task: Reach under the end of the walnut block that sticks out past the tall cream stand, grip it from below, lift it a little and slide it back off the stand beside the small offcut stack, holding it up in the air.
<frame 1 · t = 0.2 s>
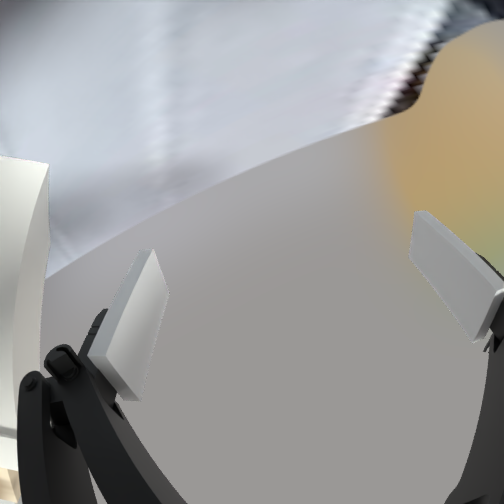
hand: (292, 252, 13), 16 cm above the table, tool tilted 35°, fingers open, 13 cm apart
cream stand: (1, 202, 26), on the table
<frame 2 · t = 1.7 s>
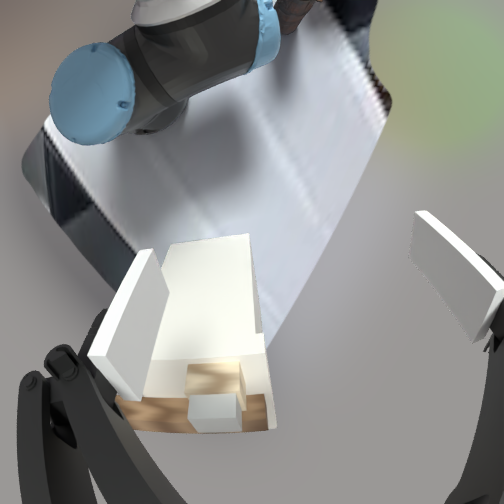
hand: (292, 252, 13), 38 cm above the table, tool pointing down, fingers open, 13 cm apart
grey offcut: (216, 402, 28), point 34 cm above the table, touching birch offcut
butter churn: (288, 23, 35), on the table
birch offcut: (217, 374, 32), point 30 cm above the table, touching cream stand, grey offcut
cream stand: (218, 279, 61), on the table
walnut block: (169, 404, 36), point 30 cm above the table, touching cream stand
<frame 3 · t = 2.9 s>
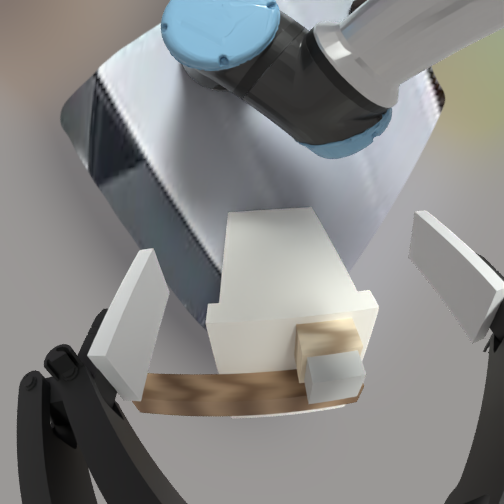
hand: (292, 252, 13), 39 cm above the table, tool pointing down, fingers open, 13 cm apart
grey offcut: (330, 366, 26), point 34 cm above the table, touching birch offcut
birch offcut: (322, 337, 29), point 30 cm above the table, touching cream stand, grey offcut
cream stand: (271, 254, 59), on the table
walnut block: (244, 381, 33), point 30 cm above the table, touching cream stand
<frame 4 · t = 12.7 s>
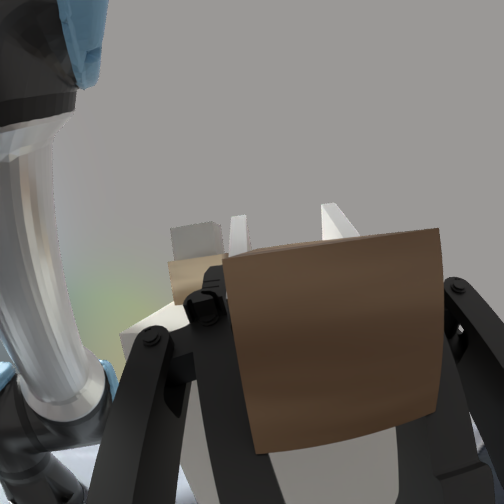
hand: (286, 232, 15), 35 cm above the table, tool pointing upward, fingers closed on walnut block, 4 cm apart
grey offcut: (201, 256, 28), point 34 cm above the table, touching birch offcut
birch offcut: (207, 296, 28), point 30 cm above the table, touching cream stand, grey offcut
walnut block: (291, 305, 19), point 30 cm above the table, touching cream stand, gripper
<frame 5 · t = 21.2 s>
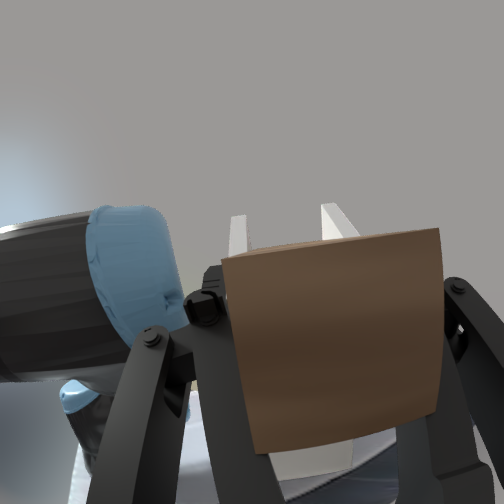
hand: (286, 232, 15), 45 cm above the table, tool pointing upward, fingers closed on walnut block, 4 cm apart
cream stand: (297, 454, 48), on the table
walnut block: (291, 305, 19), point 40 cm above the table, touching gripper
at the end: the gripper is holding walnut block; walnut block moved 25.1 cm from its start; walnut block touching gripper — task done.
